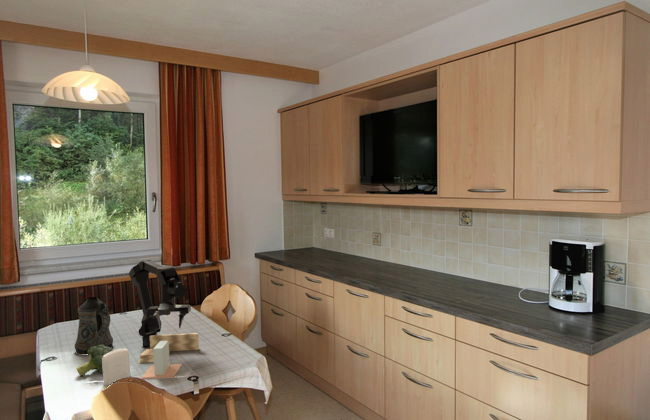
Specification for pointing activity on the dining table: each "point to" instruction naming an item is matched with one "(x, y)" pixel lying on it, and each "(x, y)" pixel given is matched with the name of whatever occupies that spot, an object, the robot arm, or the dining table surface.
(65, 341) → the dining table surface
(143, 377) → the mat
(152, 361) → the offcut middle
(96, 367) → the vegetable
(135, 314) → the dining table surface
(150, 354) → the offcut top
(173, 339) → the rack
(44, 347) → the dining table surface
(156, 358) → the tall pale grey block
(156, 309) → the robot arm
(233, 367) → the dining table surface
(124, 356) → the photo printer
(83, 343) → the beer stein
